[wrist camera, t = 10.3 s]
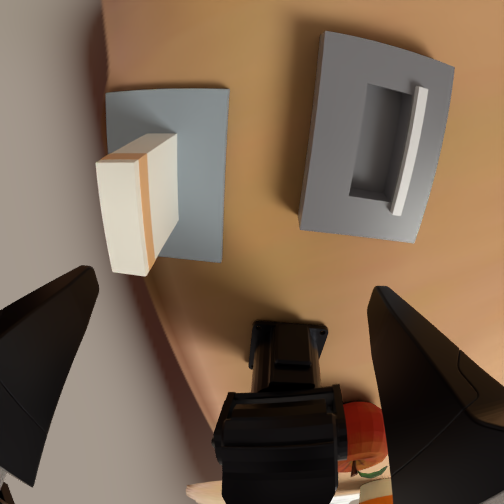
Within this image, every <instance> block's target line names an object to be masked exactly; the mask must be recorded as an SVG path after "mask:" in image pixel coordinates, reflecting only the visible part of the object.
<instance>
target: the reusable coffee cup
mask: <svg viewBox="0 0 504 504" xmlns="http://www.w3.org/2000/svg"><path fill="white" fill-rule="evenodd" d="M359 504H393V496H392V485H391V478H387V479H381V480H376V481H372V482H369V483H366V484H364V485H362V486H361V487H360V499H359Z"/></svg>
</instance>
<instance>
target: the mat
mask: <svg viewBox="0 0 504 504" xmlns="http://www.w3.org/2000/svg"><path fill="white" fill-rule="evenodd" d="M229 91H230V89H215V88H170V89H146V90H131V91H119V92H109V93H106V125H107V144H108V154H110V153H113V152H114V151H116V150H118V149H120V148H121V147H123V146H125V145H127V144H129V143H130V142H132V141H134V140H136V139H138V138H140V137H141V136H143V135H145V134H147V133H175V134H177V182H178V215H179V221H178V222H177V224H176V226H175V227H174V229H173V231H172V232H171V234H170V236H169V237H168V239H167V241H166V242H165V244H164V246H163V248H162V249H161V251H160V253H159V254H158V256H160V257H170V258H179V259H188V260H198V261H207V262H217V263H221V261H222V247H223V215H224V188H225V165H226V144H227V125H228V107H229Z"/></svg>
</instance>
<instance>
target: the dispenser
mask: <svg viewBox="0 0 504 504" xmlns="http://www.w3.org/2000/svg"><path fill="white" fill-rule="evenodd" d="M454 69H455V67H452V66H450V65H447V64H445V63H442V62H440V61H437V60H434V59H432V58H429V57H426V56H423V55H420V54H417V53H414V52H411V51H408V50H405V49H401V48H398V47H395V46H391V45H388V44H384V43H380V42H376V41H372V40H368V39H364V38H360V37H355V36H351V35H346V34H341V33H336V32H330V31H324V32H323V33H322V34H321V35H320V41H319V52H318V62H317V72H316V81H315V90H314V99H313V108H312V116H311V124H310V132H309V140H308V148H307V155H306V163H305V170H304V177H303V184H302V191H301V198H300V205H299V212H298V221H299V228H300V230H306V231H315V232H324V233H333V234H342V235H351V236H359V237H368V238H376V239H384V240H392V241H400V242H408V243H414V242H415V239H416V237H417V234H418V231H419V227H420V224H421V221H422V218H423V215H424V212H425V208H426V205H427V202H428V198H429V195H430V191H431V187H432V184H433V180H434V176H435V172H436V168H437V164H438V160H439V156H440V151H441V147H442V142H443V138H444V133H445V128H446V123H447V117H448V111H449V105H450V99H451V93H452V85H453V78H454Z"/></svg>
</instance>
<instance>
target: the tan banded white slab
mask: <svg viewBox="0 0 504 504" xmlns="http://www.w3.org/2000/svg"><path fill="white" fill-rule="evenodd" d="M96 173H97V182H98V190H99V198H100V205H101V212H102V218H103V224H104V231H105V236H106V242H107V247H108V253H109V258H110V263H111V268H112V272H116V273H123V274H132V275H138V276H147V274H148V272H149V271H150V270H151V268H152V266H153V264H154V262H155V260H156V258H157V256H158V254H159V253H160V251H161V249H162V248H163V246H164V244H165V242H166V241H167V239H168V237H169V236H170V234H171V232H172V231H173V229H174V227H175V226H176V224H177V222H178V221H179V215H178V182H177V134H175V133H147V134H145V135H143V136H141V137H140V138H138V139H136V140H134V141H132V142H130V143H129V144H127V145H125V146H123V147H121V148H120V149H118V150H116V151H114V152H113V153H110V154H108V155H107V156H105V157H103V158H101V159H100V160H99V161H98V162H96Z"/></svg>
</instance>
